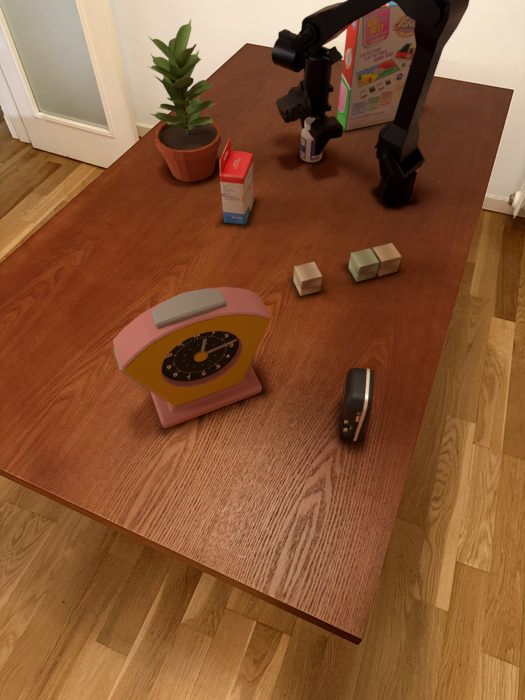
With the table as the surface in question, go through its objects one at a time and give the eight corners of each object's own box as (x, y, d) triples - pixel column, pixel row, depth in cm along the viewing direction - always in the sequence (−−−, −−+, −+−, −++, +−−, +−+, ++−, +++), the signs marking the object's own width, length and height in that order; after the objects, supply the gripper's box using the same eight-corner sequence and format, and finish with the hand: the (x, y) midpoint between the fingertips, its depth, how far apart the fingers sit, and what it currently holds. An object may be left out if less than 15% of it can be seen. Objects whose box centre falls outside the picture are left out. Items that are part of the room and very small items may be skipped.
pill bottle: (324, 152, 120) (328, 117, 113) (318, 164, 118) (322, 129, 110) (303, 148, 122) (305, 113, 114) (297, 160, 119) (299, 125, 111)
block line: (387, 258, 99) (392, 242, 96) (397, 271, 97) (401, 256, 94) (293, 281, 96) (294, 266, 93) (300, 296, 94) (301, 281, 90)
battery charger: (339, 400, 80) (348, 360, 71) (362, 404, 80) (375, 364, 71) (335, 440, 76) (344, 402, 67) (360, 444, 76) (372, 407, 67)
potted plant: (148, 181, 114) (116, 38, 90) (179, 145, 123) (157, 5, 98) (207, 196, 111) (190, 52, 87) (235, 158, 119) (226, 17, 95)
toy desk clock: (147, 436, 77) (112, 356, 59) (131, 389, 82) (95, 302, 64) (277, 387, 82) (280, 300, 64) (255, 345, 87) (252, 254, 69)
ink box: (246, 226, 105) (243, 164, 93) (223, 223, 106) (217, 161, 94) (254, 200, 110) (252, 138, 98) (232, 198, 111) (228, 136, 99)
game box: (407, 106, 132) (435, -14, 110) (417, 117, 129) (448, -5, 107) (335, 120, 129) (349, -2, 107) (343, 132, 126) (360, 8, 103)
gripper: (266, 64, 109) (266, 132, 121) (296, 107, 98) (293, 176, 111) (314, 57, 111) (309, 124, 123) (348, 98, 100) (339, 166, 113)
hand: (311, 146), depth 117 cm, fingers open, 7 cm apart
